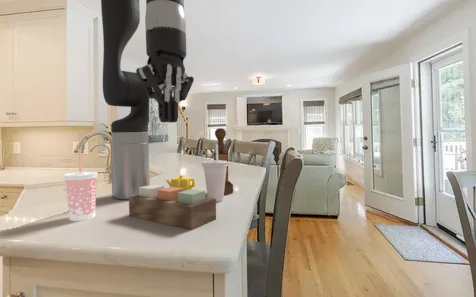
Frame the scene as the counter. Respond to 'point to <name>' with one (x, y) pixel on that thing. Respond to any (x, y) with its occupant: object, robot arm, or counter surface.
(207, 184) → the smoothie
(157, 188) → the offwhite key
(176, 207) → the key panel
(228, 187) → the mortar and pestle
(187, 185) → the teapot
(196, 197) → the sage key
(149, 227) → the counter surface
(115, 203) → the counter surface
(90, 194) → the beverage cup
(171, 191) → the terracotta key
